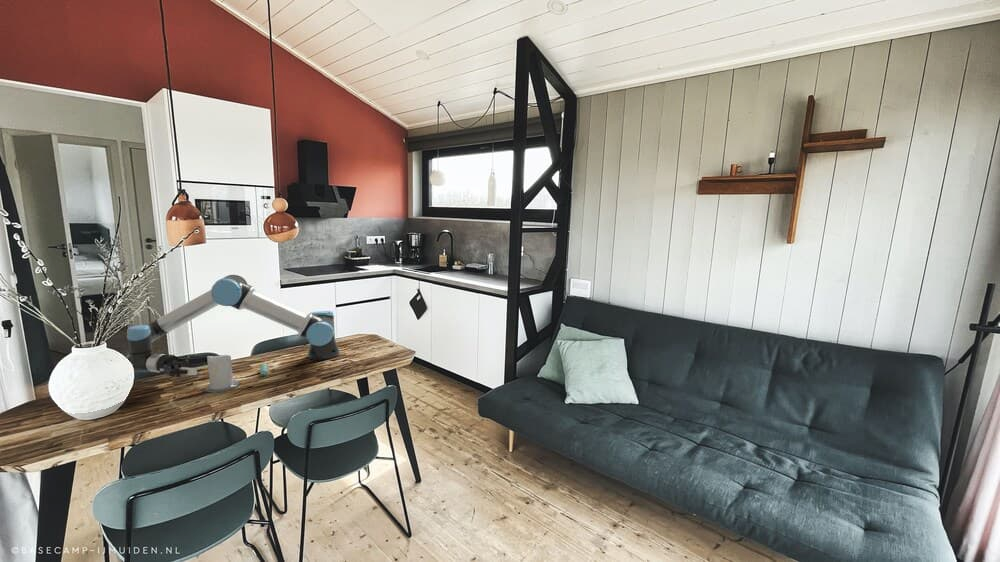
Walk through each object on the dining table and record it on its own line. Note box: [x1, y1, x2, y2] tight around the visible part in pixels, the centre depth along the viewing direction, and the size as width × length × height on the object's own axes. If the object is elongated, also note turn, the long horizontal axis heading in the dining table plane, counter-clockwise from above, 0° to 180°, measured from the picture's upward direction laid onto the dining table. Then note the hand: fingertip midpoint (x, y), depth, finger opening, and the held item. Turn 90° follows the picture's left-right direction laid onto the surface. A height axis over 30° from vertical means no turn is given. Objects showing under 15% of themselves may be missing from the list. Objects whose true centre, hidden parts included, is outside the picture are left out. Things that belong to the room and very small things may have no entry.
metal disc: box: [204, 379, 240, 394], centre depth 177 cm, size 12×12×1 cm
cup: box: [207, 354, 234, 390], centre depth 176 cm, size 8×8×12 cm
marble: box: [260, 369, 269, 376], centre depth 190 cm, size 3×3×3 cm
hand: (209, 365), depth 176 cm, fingers open, 13 cm apart
